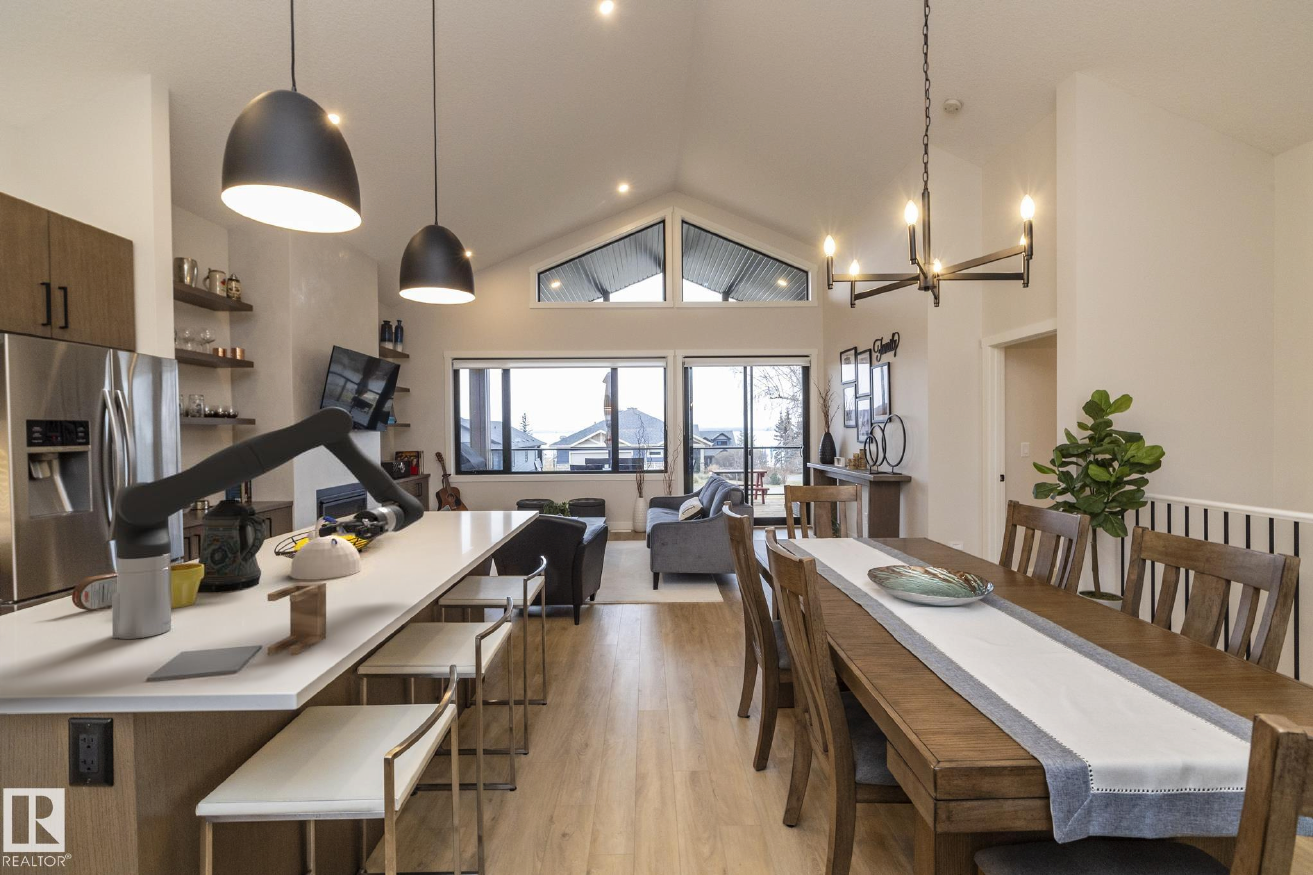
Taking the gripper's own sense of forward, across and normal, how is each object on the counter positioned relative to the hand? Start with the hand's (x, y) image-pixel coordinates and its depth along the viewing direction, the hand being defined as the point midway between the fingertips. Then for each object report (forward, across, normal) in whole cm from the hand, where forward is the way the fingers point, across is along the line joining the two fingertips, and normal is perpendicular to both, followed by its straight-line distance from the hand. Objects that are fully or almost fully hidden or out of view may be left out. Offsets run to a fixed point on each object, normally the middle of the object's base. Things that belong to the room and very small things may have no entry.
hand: (338, 532), depth 143 cm
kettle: (-53, -35, +22) cm, 67 cm away
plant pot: (-14, -51, +21) cm, 57 cm away
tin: (-11, -67, +21) cm, 71 cm away
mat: (+25, -11, +21) cm, 35 cm away
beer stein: (-34, -52, +21) cm, 65 cm away
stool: (+15, 0, +21) cm, 26 cm away
